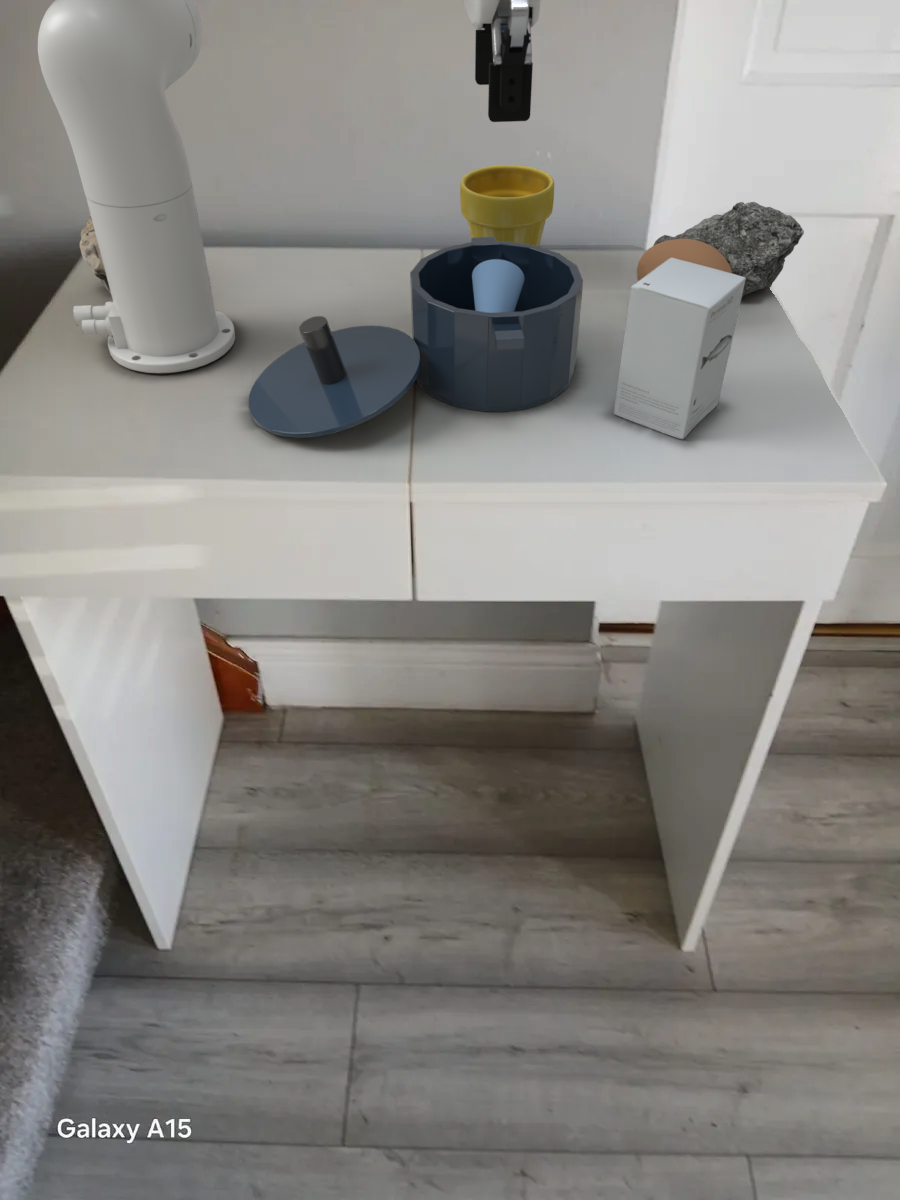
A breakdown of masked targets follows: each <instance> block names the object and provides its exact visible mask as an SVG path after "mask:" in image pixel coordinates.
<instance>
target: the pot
mask: <svg viewBox="0 0 900 1200" xmlns="http://www.w3.org/2000/svg"><path fill="white" fill-rule="evenodd" d="M470 240H471V241H470V242H466V243H460V244H456V245H452V246H447V247H442V248H441V249H438V250H437V251H436V250H435V252H433V253H430V254H428V255H427V256H425V257H421V259H420V260H419V261H418V262H417V263H416V265H414V267H413V268H412V270H411V271H410V273H409V277H410V278H409V279H410V280H409V282H410V286H409V287H410V309H411V312H410V313H411V314H410V315H411V338H412V339H413V340H414V341H415V342H416V344H417V345H418V347H419V350H420V353H421V368H420V371H419V374H418V376H417V378H416V380H415V381H416V382H417V384H418V385H419V386H420V388H421V389H422V390H423V391H425V392H426V394H428V395H430V396H431V397H433V398H435V400H438V401H440V402H442V403H445V404H448V405H450V406H453V407H456V408H460V409H464V410H470V411H477V412H487V413H488V412H489V413H501V412H502V413H503V412H505V413H506V412H514V411H521V410H527V409H530V408H534V407H537V406H541V405H543V404H545V403H547V402H550V401H552V400H553V399H556V398H557V397H558V396H559V395H562V393H564V392H565V390H566V389H567V388H568V387H569V385H570V383H572V379H573V377H574V373H575V370H576V361H577V352H578V351H577V350H578V341H579V332H580V331H579V330H580V329H579V328H580V318H581V308H582V298H583V286H584V279H583V277H582V273H581V272H580V270H579V269H580V268H579V267H578V265H577V264H575V263H574V262H573V261H571V260H569V259H568V258H567V257H565V256H564V255H563V254H561V253H559V252H556V251H554V250H550V249H547V248H544V247H541V246H539V247H538V246H535V245H530V244H522V243H514V242H506V241H496V238H495V237H479V238H471V237H470ZM493 259H499V260H505V261H509V262H511V263H513V264H515V265H516V266H518V267H519V268H520V269H521V271H522V272H523V274H524V283H523V286H522V289H521V292H520V296H519V299H518V302H517V305H516V308H515V311H514V312H498V313H488V312H481V311H475V302H474V292H473V282H472V272H473V270H474V268H475V267H476V266H477V265H478V264H480V263H482V262H484V261H487V260H493Z"/></svg>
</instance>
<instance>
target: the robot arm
mask: <svg viewBox="0 0 900 1200" xmlns="http://www.w3.org/2000/svg"><path fill="white" fill-rule="evenodd" d="M462 1H463V2H462V3H463V6H464V10H465V12H466V14H467V16H468V19H469V21H470V23H471V24H472V26H473V27H474V28H475V43H474V45H475V47H474V48H475V49H474V51H475V52H474V53H475V54H474V56H475V57H474V59H475V60H474V64H475V65H474V80H475V83H476V84H477V85H479V86H487V85H488V97H487V99H488V101H487V102H488V105H487V116H488V119H489V121H490V122H492V123H506V122H507V123H509V122H510V123H511V122H527V121H529V119H530V118H531V110H532V109H531V107H532V106H531V105H532V89H533V69H534V68H533V66H534V65H533V64H534V63H533V61H532V60H533V47H532V29H531V28H533V27H534V26H535V25H536V24H537V23H538V21H539V17H540V11H541V0H462ZM202 42H203V25H202V20H201V16H200V12H199V8H198V6H197V3H196V0H54V1H53V2H52V3H51V4H50V5H49V7H48V8H47V10H46V11H45V13H44V15H43V18H42V19H41V22H40V25H39V29H38V34H37V55H38V63H39V67H40V70H41V73H42V77H43V79H44V82H45V85H46V88H47V90H48V92H49V94H50V97H51V98H52V99H51V100H52V101H53V103H54V105H55V108H56V109H57V112H58V114H59V116H60V117H59V118H60V119H61V122H62V125H63V127H64V129H65V132H66V135H67V138H68V140H69V143H70V146H71V150H72V153H73V156H74V159H75V162H76V166H77V170H78V173H79V177H80V181H81V185H82V189H83V193H84V196H85V199H86V203H87V206H88V210H89V214H90V216H91V218H92V222H93V226H94V230H95V234H96V238H97V241H98V245H99V249H100V253H101V257H102V261H103V265H104V268H105V272H106V276H107V280H108V284H109V288H110V291H111V293H110V295H111V299H112V301H105V303H104V305H93V304H88V305H84V304H83V305H74V306H73V310H72V312H73V320H74V322H75V324H76V326H77V327H79V326H81V331H82V333H83V334H84V335H97V334H106V333H107V335H108V337H107V348H108V351H109V354H110V356H111V357H112V359H113V360H114V361H115V362H116V363H117V364H118V365H121V366H122V367H124V368H126V369H129V370H131V371H136V372H141V373H147V374H172V373H179V372H181V373H182V372H186V371H190V370H195V369H197V368H201V367H203V366H206V365H208V364H210V363H213V362H215V361H217V360H218V359H220V358H222V357H223V356H224V355H226V353H227V352H228V351H230V350H231V348H232V347H233V345H234V344H235V340H236V331H235V326H234V323H233V321H232V319H230V318H229V316H228V315H226V314H224V313H223V312H221V311H219V310H216V307H215V301H214V295H213V290H212V285H211V279H210V273H209V268H208V262H207V258H206V252H205V246H204V241H203V236H202V230H201V225H200V220H199V216H198V215H199V213H198V209H197V203H196V197H195V192H194V187H193V181H192V177H191V173H190V172H191V171H190V167H189V166H190V165H189V162H188V158H187V153H186V150H185V146H184V143H183V139H182V136H181V133H180V132H179V129H178V127H177V124H176V122H175V121H174V117H173V115H172V113H171V111H170V108H169V105H168V101H167V98H166V91H167V89H168V88H170V87H171V86H172V85H173V84H175V82H177V81H178V80H179V79H180V78H182V77H183V76H184V75H185V74H187V72H188V71H189V70H190V69H191V68H192V67H193V66H194V64H195V62H196V61H197V59H198V56H199V54H200V51H201V47H202Z"/></svg>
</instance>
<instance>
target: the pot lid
mask: <svg viewBox="0 0 900 1200" xmlns="http://www.w3.org/2000/svg"><path fill="white" fill-rule="evenodd" d="M298 330H299V333H300V336H301V338H302V340H303V342H301V343H299V344H298V345H295V346H294V347H292V348H291V349H289V350H287V351H285V352H284V353H283V354H281V355H280V356H279V357H277V358H276V359H275V360H273V361H272V362H271V363H270V364H269V365H267V367H266V368H264V370H263V371H262V372H261V373H260V375H258V377H257V378H256V380H255V382H254V383H253V385H252V387H251V389H250V392H249V395H248V401H247V404H248V410H249V414H250V416H251V418H252V419H253V421H254V422H255V424H257V425H258V427H260V428H261V429H263V430H264V431H266V432H268V433H271V434H273V435H275V436H280V437H286V438H287V437H288V438H295V439H296V438H297V439H298V438H314V437H321V436H327V435H332V434H336V433H339V432H342V431H345V430H348V429H352V428H354V427H356V426H359V425H361V424H364V423H365V422H367V421H369V420H371V419H373V418H375V417H377V416H378V415H380V414H382V413H383V412H385V411H387V410H388V409H389V408H390V407H392V406H393V405H395V404H396V403H397V402H398V401H400V400H401V398H403V396H404V395H406V393H407V392H408V391H409V390H410V389H411V388H412V386H413V385H414V384H415V382H416V381H417V380H416V378H417V376H418V374H419V371H420V368H421V353H420V350H419V347H418V345H417V344H416V342H415V341H414V340H413V339H412V336H411V335H409V334H407V333H406V332H404V331H402V330H400V329H397V328H393V327H390V326H383V325H357V326H349V327H345V328H340V329H336V330H332V329H331V327H330V324H329V321H328V319H327V318H326V316H322V315H321V316H320V315H316V316H312V317H310V318H307V319H305V320H304V321H303V322H301V324H300V325H299V327H298Z"/></svg>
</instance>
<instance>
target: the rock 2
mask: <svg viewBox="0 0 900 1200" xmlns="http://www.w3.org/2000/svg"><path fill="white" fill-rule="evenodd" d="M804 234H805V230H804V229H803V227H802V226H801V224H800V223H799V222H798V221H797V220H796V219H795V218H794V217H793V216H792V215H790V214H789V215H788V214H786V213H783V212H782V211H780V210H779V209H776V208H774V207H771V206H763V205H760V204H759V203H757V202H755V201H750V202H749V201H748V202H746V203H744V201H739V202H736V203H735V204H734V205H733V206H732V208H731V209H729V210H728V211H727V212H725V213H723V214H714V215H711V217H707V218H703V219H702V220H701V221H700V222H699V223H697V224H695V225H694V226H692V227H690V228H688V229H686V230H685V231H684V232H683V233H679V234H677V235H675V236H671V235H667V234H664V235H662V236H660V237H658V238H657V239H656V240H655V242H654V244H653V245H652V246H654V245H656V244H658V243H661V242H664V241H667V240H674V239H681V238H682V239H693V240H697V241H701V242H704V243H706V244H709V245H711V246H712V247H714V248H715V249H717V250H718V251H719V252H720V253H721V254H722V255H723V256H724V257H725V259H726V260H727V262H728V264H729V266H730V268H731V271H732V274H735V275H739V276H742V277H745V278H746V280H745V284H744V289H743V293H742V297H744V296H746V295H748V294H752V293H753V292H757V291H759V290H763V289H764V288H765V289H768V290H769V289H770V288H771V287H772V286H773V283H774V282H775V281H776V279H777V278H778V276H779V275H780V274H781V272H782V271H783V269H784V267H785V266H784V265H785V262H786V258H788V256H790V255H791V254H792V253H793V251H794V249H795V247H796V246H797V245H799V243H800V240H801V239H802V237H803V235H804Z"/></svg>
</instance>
